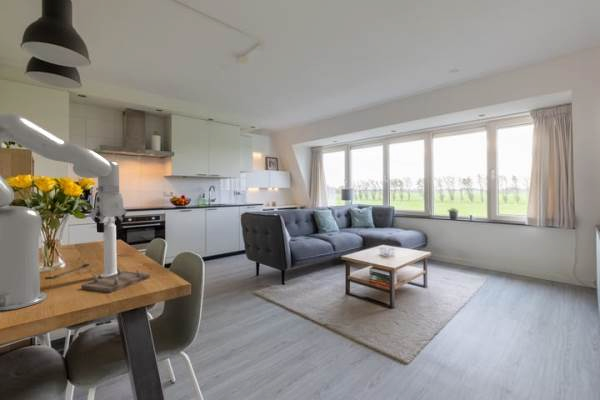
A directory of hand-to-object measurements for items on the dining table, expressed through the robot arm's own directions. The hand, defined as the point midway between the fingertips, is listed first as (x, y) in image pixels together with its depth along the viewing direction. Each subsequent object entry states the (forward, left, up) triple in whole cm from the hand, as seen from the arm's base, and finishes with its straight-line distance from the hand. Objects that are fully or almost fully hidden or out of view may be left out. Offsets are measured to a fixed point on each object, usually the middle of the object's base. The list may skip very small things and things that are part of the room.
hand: (109, 230), depth 119 cm
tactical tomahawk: (-1, +21, -20) cm, 29 cm away
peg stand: (-7, -12, -19) cm, 24 cm away
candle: (0, 0, -20) cm, 20 cm away
